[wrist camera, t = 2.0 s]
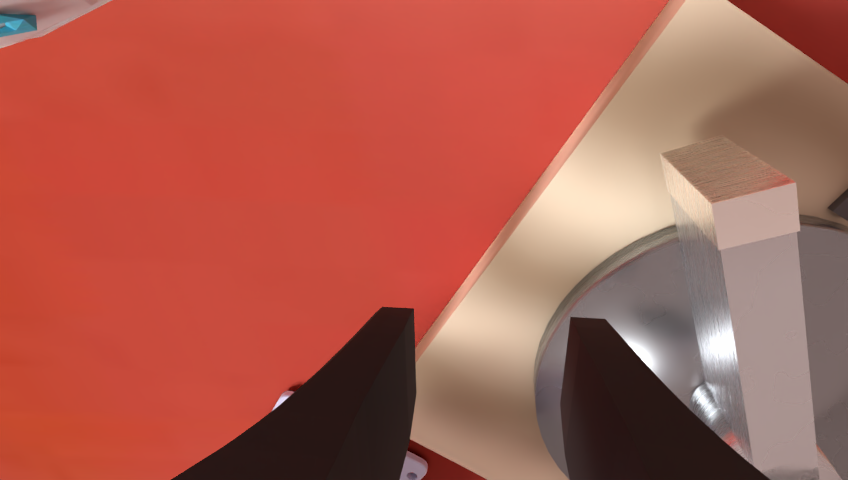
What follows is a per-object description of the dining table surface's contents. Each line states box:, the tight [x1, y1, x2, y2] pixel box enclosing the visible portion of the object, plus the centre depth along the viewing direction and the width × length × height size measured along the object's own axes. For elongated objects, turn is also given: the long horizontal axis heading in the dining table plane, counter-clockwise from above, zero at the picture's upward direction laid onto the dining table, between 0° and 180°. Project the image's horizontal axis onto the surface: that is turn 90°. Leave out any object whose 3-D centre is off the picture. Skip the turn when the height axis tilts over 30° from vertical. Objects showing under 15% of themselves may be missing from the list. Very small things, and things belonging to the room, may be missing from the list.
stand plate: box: [410, 0, 848, 480], centre depth 20 cm, size 20×20×2 cm
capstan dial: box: [533, 136, 848, 480], centre depth 17 cm, size 17×14×5 cm
